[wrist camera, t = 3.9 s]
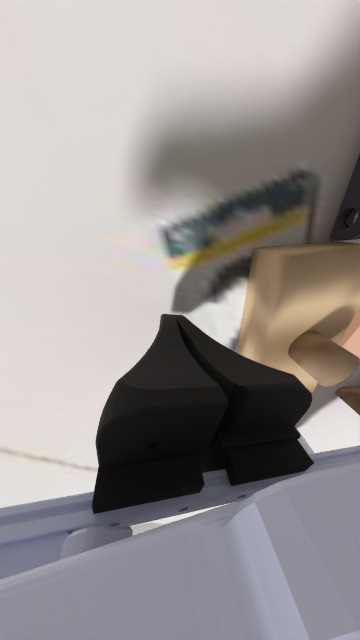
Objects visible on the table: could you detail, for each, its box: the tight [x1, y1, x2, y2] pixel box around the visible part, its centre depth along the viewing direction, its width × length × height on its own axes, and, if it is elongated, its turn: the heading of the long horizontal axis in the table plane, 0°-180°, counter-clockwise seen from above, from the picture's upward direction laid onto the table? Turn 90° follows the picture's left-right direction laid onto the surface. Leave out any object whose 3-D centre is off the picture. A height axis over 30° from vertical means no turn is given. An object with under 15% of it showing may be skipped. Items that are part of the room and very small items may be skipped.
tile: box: [339, 307, 360, 359], centre depth 15 cm, size 5×5×2 cm
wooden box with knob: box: [237, 241, 360, 393], centre depth 12 cm, size 12×6×6 cm, turn 3°
